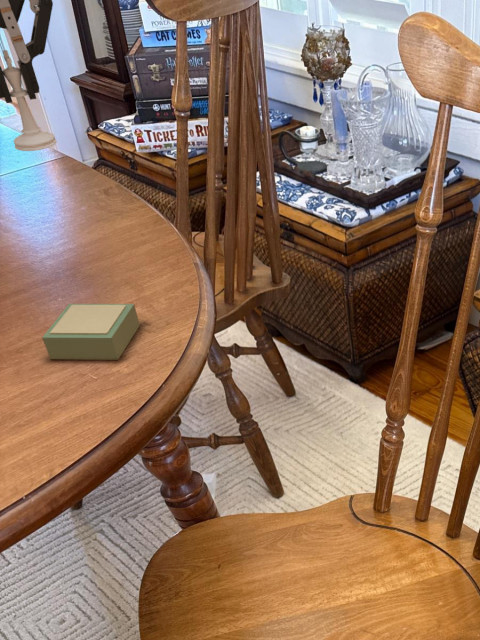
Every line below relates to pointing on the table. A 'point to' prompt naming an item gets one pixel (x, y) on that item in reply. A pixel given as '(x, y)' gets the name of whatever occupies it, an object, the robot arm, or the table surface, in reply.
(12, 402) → the table surface
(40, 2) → the robot arm
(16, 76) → the chess piece
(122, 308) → the green square box
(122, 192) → the table surface
